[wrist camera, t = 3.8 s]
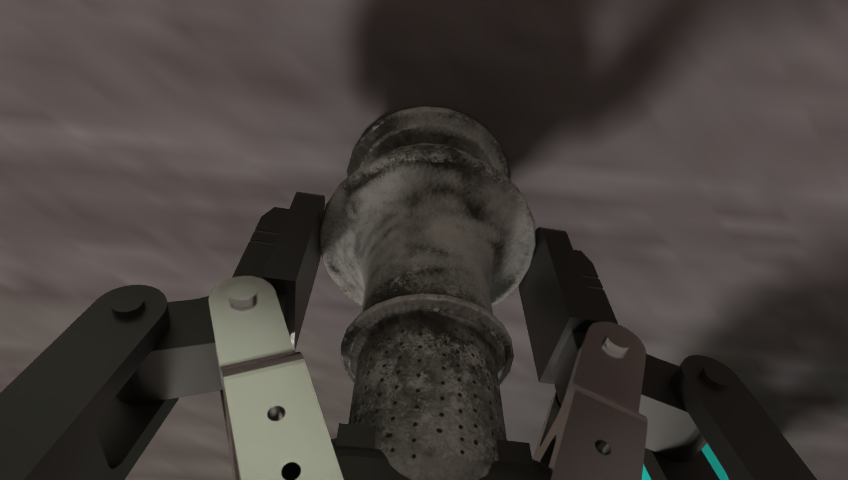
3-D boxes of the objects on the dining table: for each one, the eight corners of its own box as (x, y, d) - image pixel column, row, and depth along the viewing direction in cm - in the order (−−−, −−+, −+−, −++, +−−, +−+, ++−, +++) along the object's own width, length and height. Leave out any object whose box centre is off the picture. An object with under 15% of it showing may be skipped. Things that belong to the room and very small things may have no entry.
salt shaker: (349, 77, 14) (189, 492, 5) (543, 117, 15) (745, 551, 5) (329, 238, 18) (213, 670, 8) (488, 265, 19) (554, 693, 9)
